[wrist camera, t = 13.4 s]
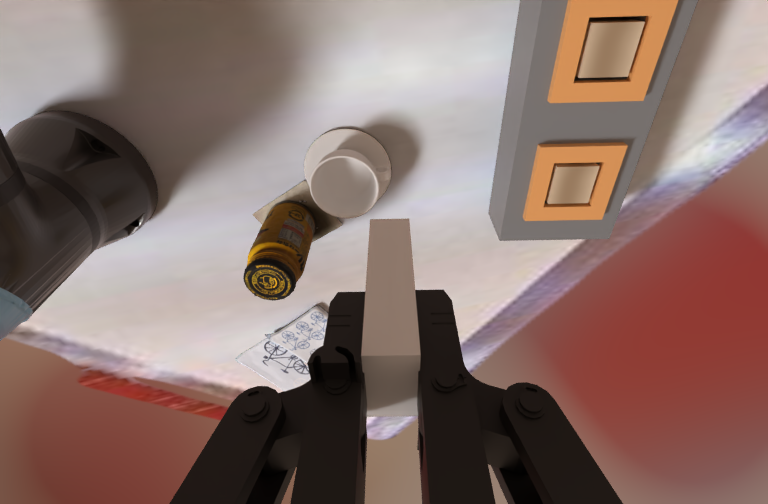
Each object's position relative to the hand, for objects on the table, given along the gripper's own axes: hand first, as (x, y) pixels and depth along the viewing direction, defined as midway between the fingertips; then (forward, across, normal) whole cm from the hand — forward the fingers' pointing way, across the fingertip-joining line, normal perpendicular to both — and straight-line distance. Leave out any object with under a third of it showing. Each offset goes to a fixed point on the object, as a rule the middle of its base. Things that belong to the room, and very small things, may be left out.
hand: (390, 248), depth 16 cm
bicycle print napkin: (+30, -14, -44) cm, 55 cm away
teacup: (+30, -5, -10) cm, 32 cm away
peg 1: (+29, +18, -9) cm, 36 cm away
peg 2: (+29, +18, +3) cm, 35 cm away
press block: (+29, +18, -3) cm, 35 cm away
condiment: (+30, -12, -16) cm, 36 cm away
